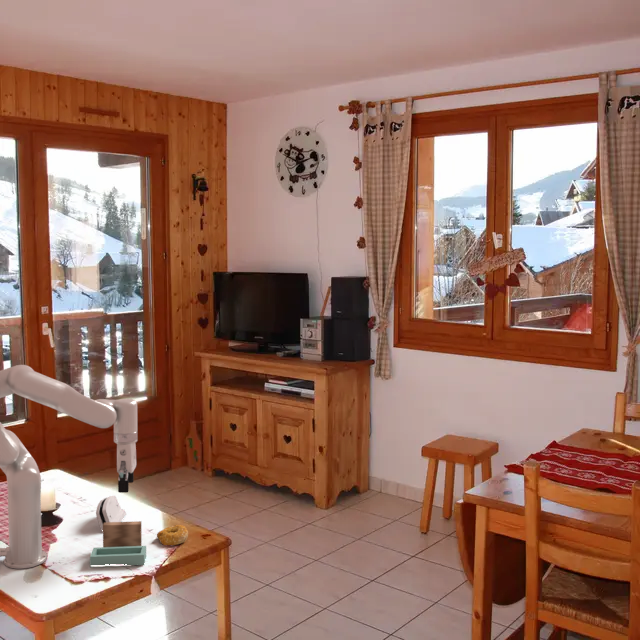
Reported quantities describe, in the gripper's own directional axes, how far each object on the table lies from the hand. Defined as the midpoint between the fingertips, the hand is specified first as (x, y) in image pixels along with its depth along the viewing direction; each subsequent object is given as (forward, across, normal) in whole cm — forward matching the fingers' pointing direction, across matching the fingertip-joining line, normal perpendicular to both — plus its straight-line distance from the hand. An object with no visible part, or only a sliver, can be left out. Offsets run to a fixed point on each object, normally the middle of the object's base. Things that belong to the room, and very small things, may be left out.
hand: (126, 487), depth 247 cm
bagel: (+20, +3, -15) cm, 25 cm away
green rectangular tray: (+20, -13, 0) cm, 24 cm away
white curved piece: (+20, +20, +9) cm, 30 cm away
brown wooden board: (+20, -4, +1) cm, 20 cm away
